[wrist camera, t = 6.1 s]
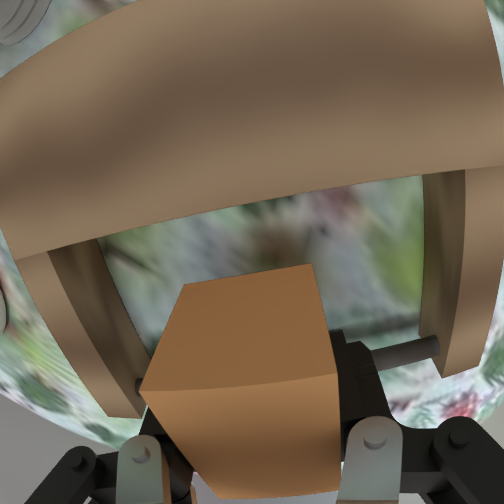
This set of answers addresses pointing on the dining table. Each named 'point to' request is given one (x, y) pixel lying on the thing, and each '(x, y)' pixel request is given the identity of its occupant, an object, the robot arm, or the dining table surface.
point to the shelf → (251, 151)
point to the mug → (2, 313)
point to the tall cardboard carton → (251, 385)
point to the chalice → (19, 18)
